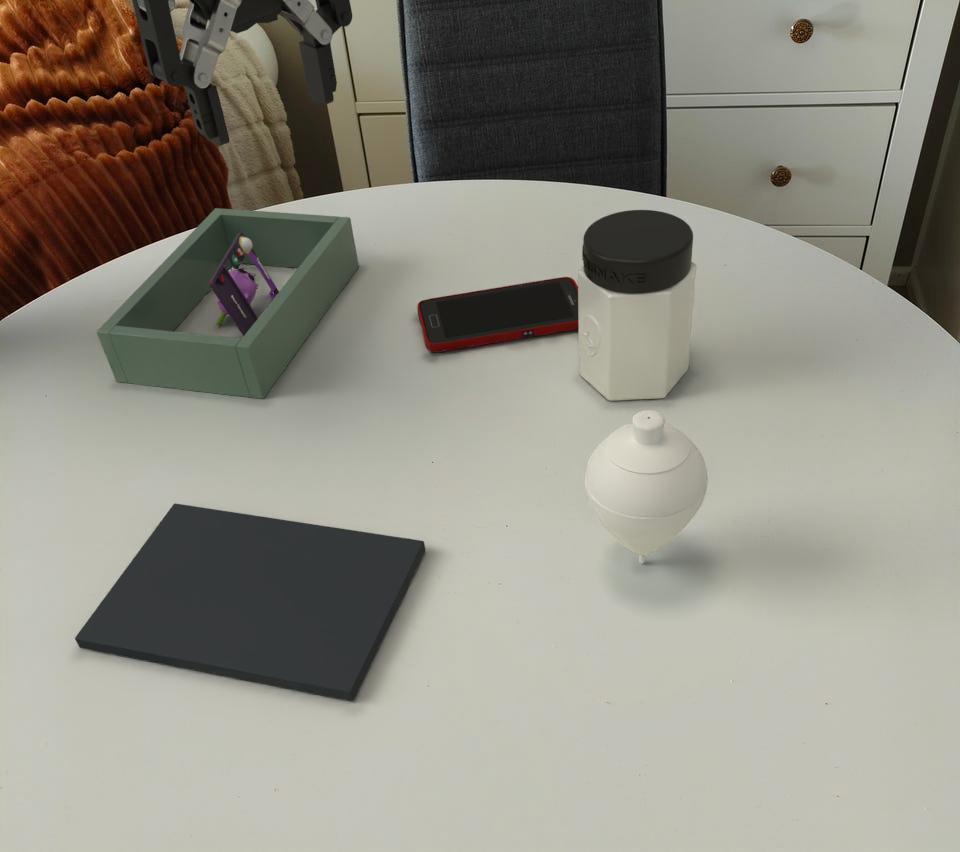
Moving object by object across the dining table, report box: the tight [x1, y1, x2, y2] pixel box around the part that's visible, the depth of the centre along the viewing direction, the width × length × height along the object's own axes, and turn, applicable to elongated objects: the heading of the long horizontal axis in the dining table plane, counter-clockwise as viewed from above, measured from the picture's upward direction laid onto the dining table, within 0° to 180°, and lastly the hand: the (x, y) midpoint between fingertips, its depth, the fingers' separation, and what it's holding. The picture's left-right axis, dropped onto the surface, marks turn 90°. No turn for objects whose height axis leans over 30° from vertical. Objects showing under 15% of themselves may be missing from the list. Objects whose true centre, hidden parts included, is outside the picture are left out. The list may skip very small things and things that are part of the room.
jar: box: [577, 209, 697, 402], centre depth 81 cm, size 9×8×12 cm
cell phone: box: [416, 276, 579, 353], centre depth 92 cm, size 8×15×1 cm, turn 100°
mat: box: [74, 502, 426, 702], centre depth 71 cm, size 20×14×1 cm
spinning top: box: [584, 409, 709, 565], centre depth 66 cm, size 8×8×12 cm
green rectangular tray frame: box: [95, 207, 360, 400], centre depth 94 cm, size 14×22×5 cm, turn 163°
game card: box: [209, 232, 280, 337], centre depth 94 cm, size 7×5×9 cm
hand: (271, 121), depth 71 cm, fingers open, 8 cm apart
